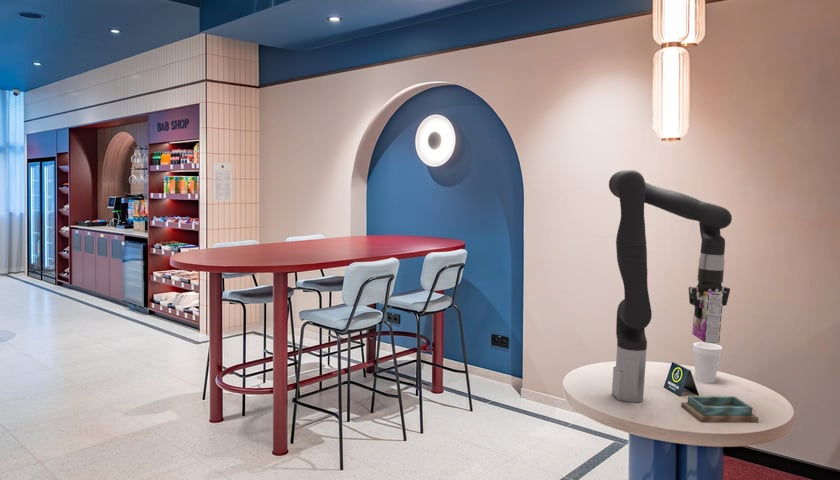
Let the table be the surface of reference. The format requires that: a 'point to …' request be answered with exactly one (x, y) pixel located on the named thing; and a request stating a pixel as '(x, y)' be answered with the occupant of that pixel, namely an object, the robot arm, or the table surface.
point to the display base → (719, 409)
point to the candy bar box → (709, 318)
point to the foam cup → (706, 361)
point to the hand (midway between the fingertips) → (706, 318)
